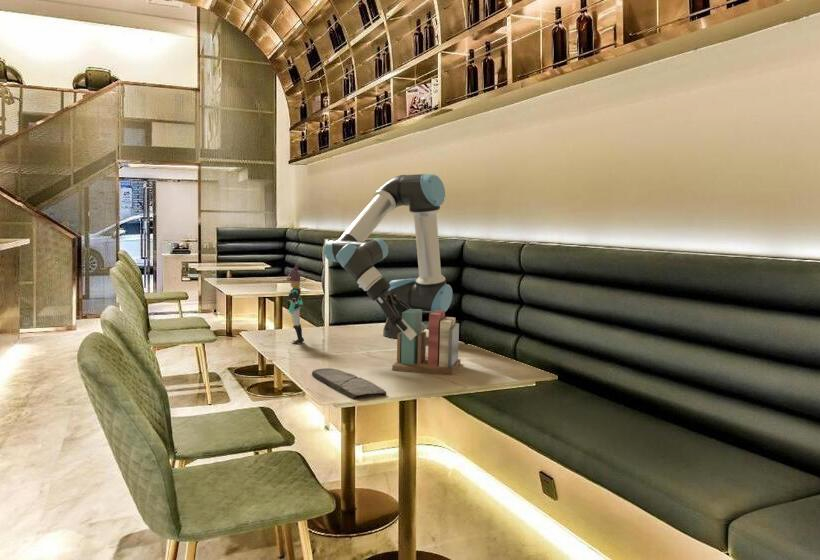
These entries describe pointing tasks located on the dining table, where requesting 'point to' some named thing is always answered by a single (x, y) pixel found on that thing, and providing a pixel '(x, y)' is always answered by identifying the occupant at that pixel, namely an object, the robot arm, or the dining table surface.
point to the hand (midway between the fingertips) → (419, 334)
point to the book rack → (434, 347)
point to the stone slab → (346, 383)
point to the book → (411, 347)
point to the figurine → (295, 302)
